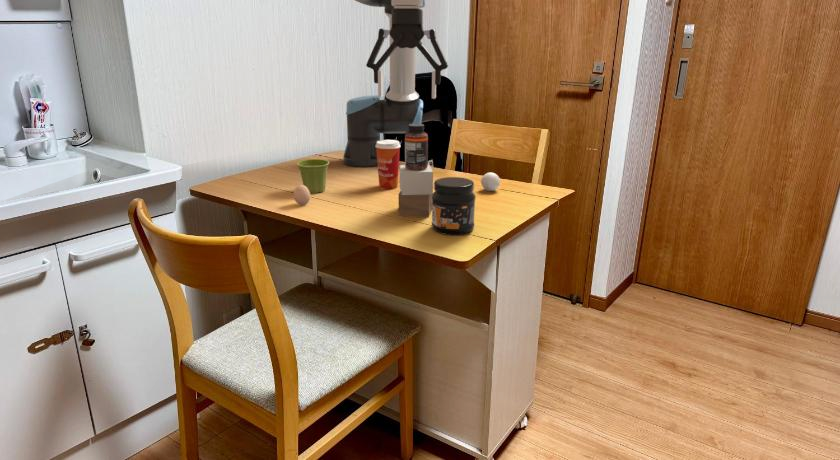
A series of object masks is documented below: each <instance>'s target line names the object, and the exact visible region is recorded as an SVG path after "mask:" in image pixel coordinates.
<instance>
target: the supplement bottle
mask: <svg viewBox="0 0 840 460" xmlns="http://www.w3.org/2000/svg"><path fill="white" fill-rule="evenodd" d="M424 130H425V124H423V123H421V124H409V131H408V132H407V133H406V134H405V135H404V165H405V167H406V168H407V169H410V170H422V169H425V168H427V167H428V165H429V161H428V158H429V151H428V150H429V136H428V133H426V132H425V131H424Z"/></svg>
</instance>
